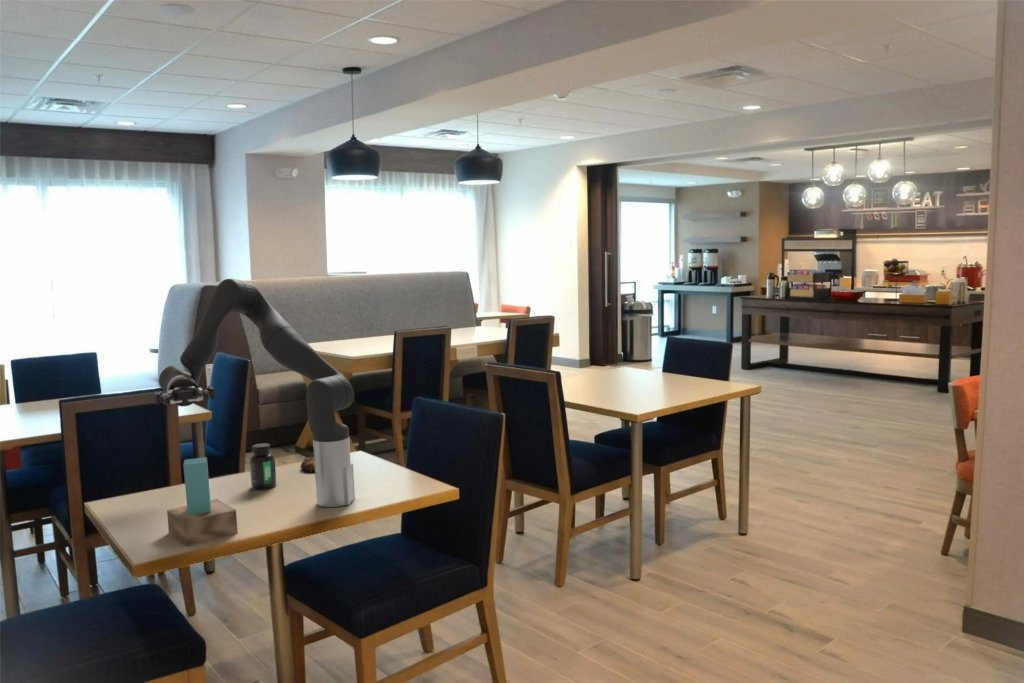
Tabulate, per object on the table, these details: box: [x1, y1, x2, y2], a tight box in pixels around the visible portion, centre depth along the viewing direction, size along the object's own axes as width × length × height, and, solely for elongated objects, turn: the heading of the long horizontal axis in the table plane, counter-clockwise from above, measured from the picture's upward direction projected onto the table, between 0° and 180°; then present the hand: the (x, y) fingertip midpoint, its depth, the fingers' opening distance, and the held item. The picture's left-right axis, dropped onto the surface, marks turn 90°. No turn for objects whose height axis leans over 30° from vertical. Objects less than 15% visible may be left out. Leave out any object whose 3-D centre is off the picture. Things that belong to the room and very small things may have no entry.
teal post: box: [182, 456, 211, 515], centre depth 189 cm, size 5×5×12 cm
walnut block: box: [166, 498, 238, 547], centre depth 191 cm, size 12×12×6 cm
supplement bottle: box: [249, 442, 277, 491], centre depth 227 cm, size 7×7×12 cm
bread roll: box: [300, 454, 315, 474], centre depth 246 cm, size 11×11×5 cm
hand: (187, 399), depth 201 cm, fingers open, 8 cm apart
